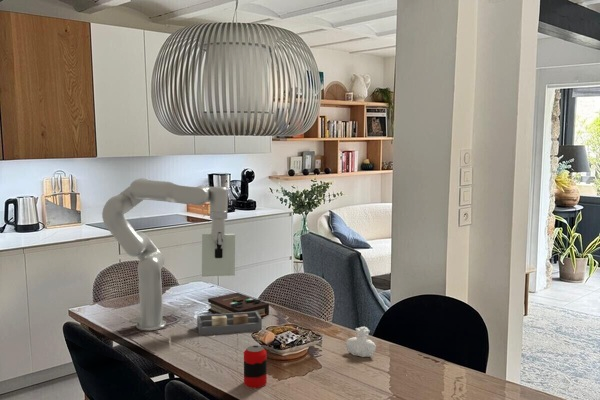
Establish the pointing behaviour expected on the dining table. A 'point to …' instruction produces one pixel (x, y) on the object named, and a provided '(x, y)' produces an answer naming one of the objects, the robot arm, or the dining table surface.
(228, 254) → the sage board
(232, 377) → the dining table surface
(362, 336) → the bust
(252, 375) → the soda can
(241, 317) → the tan wooden block
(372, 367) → the dining table surface
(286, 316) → the dining table surface
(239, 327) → the rack
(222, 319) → the birch offcut
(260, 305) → the decorative book
